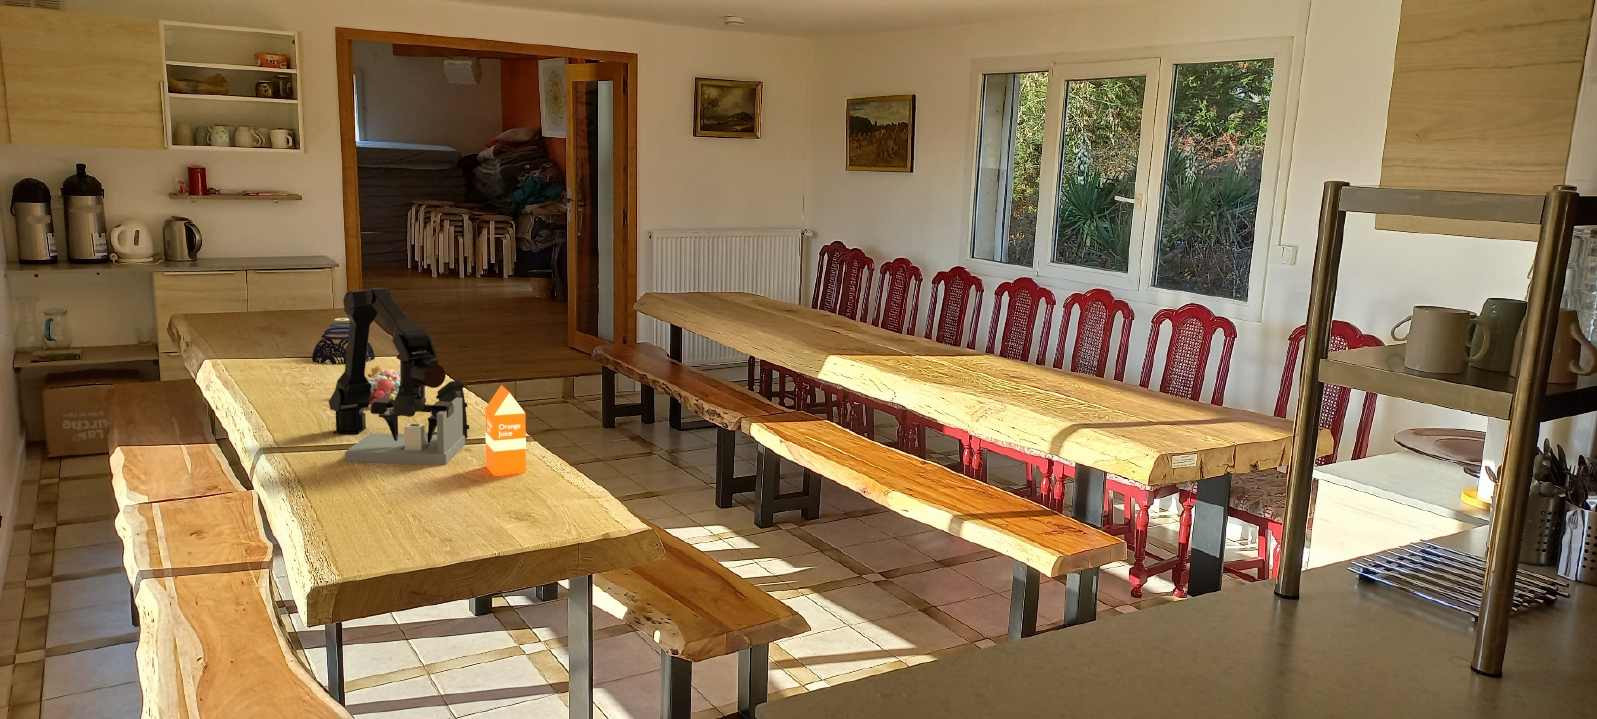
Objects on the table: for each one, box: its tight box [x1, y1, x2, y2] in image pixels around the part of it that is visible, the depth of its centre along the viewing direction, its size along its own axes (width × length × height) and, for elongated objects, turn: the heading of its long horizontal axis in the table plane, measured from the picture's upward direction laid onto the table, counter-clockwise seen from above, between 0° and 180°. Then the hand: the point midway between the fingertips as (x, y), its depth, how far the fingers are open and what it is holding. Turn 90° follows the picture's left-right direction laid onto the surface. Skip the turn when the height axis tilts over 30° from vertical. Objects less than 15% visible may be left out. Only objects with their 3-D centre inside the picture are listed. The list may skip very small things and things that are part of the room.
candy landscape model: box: [365, 365, 400, 410], centre depth 333 cm, size 25×24×9 cm
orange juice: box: [484, 384, 527, 477], centre depth 265 cm, size 8×9×20 cm
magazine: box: [435, 380, 470, 440], centre depth 296 cm, size 4×13×15 cm, turn 39°
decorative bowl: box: [312, 317, 376, 365], centre depth 390 cm, size 20×20×14 cm
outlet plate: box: [344, 398, 466, 465], centre depth 276 cm, size 24×18×12 cm
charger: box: [403, 422, 427, 450], centre depth 274 cm, size 4×4×8 cm
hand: (412, 441), depth 274 cm, fingers open, 8 cm apart
